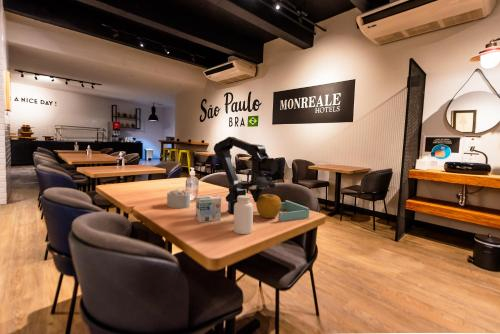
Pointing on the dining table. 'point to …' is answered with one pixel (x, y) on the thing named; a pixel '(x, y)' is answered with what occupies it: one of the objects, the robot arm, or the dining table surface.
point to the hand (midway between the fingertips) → (255, 202)
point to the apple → (268, 205)
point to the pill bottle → (243, 215)
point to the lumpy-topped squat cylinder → (178, 199)
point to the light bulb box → (208, 208)
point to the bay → (292, 211)
